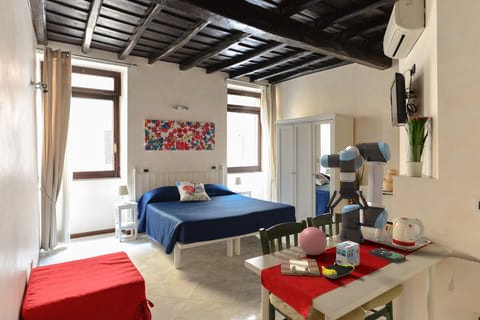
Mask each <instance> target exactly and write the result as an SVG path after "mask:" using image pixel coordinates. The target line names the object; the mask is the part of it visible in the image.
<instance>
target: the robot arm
mask: <svg viewBox="0 0 480 320" xmlns="http://www.w3.org/2000/svg"><path fill="white" fill-rule="evenodd" d="M390 160H391V150H390V146H389V144H388V143H387V142H384V141H382V142H380V141H379V142H375V141H374V142H360V143H355V144H353V145H350V146H348V147H346V148H345V149H343V150H341V151H338V152H335V153H332V154H323V155H322V156H321V157H320V165H321V167H322V168H323V169H324V168H325V169H339V180H340V181H339V190H336V189H333V192H332V195H331V197H330V199H329V201H328V202H327V205H326V208H328V209H329V210H330V216H332V222H333V223H336V207H337V206H338V205H339V203H341V202H342V200H352V199H353V200H354V202H355V203H356V204H347V205H344V206H342V208H341V230H340V232H339V237H338V239H339V241H340V242H342V243H343V242H346V241H351V242H354V243H358V244H359V245H360V244H362V243H364V242H365V236H364V234H363V230H362V227H365V228H369V229H370V228H372V229H378V230H382V229H384V228H385V227H386V225H387V223H388V219H389V211H387V209H386V207H385V206H384V204H383V195H384V193H383V192H384V191H383V190H384V177H385V175H384V174H385V166H386V165H388V164H387V163H388V161H390ZM365 161H366V164H367V165H368V180H367V196H366V197H367V199H365V196H364V194H363V190H360V189H358V190H357V189H356V184H357V183H356V179H357V178H356V169H360V168H362V167H363V166H364V164H365ZM338 194H339V196H338ZM356 195H358V196H359V198H360V200H361V201H362V203H361V201H359V199H358V198H357V196H356ZM336 196H338V198H337V199H336ZM335 199H336V200H335ZM334 200H335V201H334Z"/></svg>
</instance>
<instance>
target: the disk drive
mask: <svg viewBox="0 0 480 320" xmlns="http://www.w3.org/2000/svg"><path fill="white" fill-rule="evenodd" d="M369 255H370V256H374V257H377V258H379V259H381V260H385V261H387V262H389V263H392V264H394V263H398V261H399V262H402V261H406V260H405V259H406V258H407V256H406V255H404V254H402V253H399V252H396V251H393V250H391V249H386V248H383V247H379V248H375V249H369Z"/></svg>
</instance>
